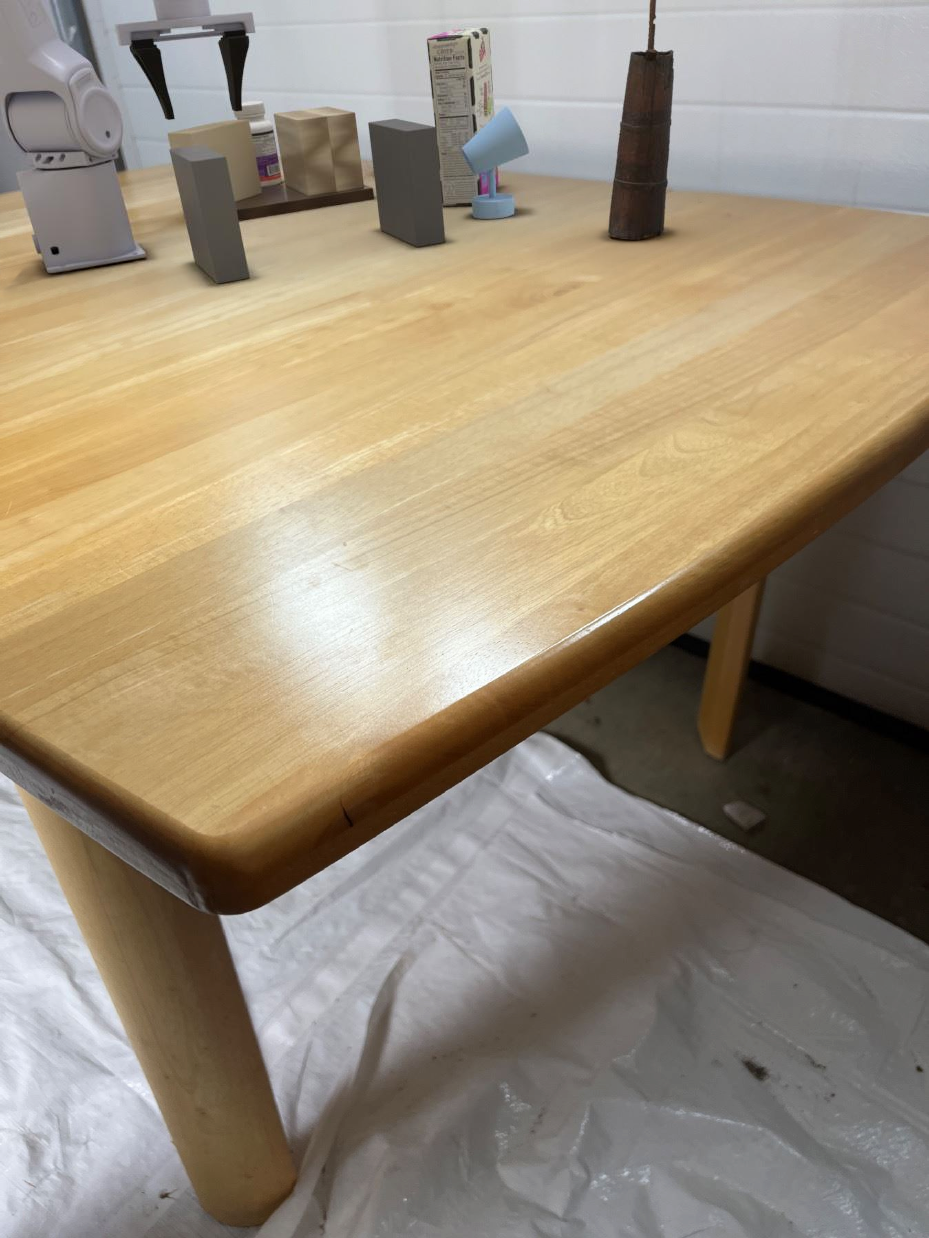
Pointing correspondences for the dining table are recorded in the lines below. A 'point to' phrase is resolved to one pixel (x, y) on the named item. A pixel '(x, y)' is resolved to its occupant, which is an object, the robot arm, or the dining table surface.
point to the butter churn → (643, 144)
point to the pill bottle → (262, 142)
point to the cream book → (227, 151)
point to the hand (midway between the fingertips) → (204, 115)
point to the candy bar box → (460, 107)
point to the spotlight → (494, 161)
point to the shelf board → (312, 164)
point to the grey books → (399, 179)
